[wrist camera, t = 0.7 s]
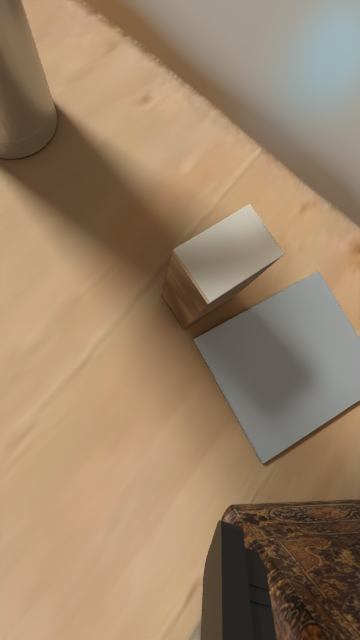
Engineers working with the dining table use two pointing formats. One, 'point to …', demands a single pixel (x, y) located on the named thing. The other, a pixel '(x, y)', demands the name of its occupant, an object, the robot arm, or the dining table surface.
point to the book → (307, 564)
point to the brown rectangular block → (218, 265)
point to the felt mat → (286, 364)
